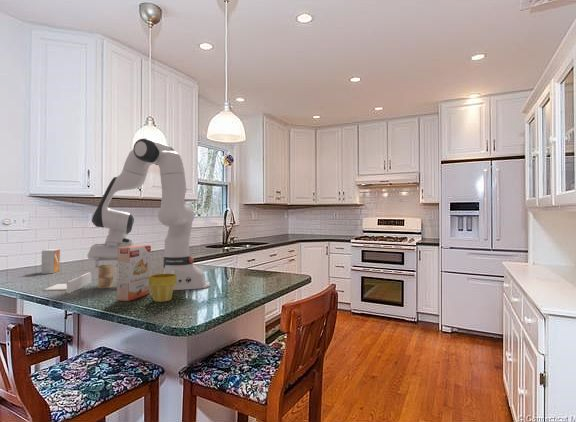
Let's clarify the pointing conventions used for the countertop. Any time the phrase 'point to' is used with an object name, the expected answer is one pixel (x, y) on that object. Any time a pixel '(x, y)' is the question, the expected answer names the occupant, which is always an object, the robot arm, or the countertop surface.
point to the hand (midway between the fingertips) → (107, 266)
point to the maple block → (105, 276)
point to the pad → (57, 287)
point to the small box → (50, 261)
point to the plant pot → (162, 286)
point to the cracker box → (133, 272)
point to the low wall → (78, 282)
